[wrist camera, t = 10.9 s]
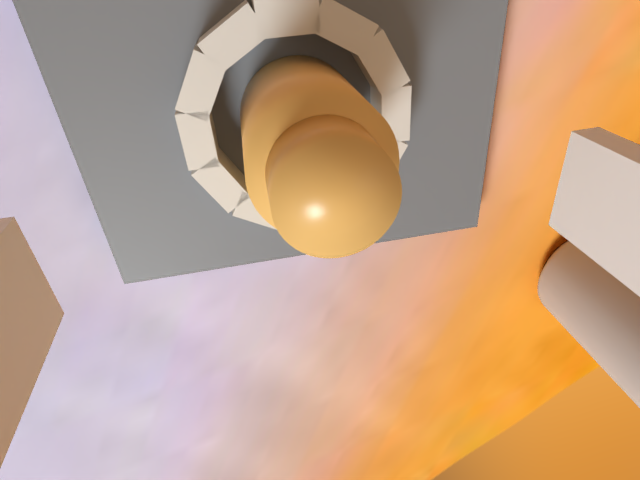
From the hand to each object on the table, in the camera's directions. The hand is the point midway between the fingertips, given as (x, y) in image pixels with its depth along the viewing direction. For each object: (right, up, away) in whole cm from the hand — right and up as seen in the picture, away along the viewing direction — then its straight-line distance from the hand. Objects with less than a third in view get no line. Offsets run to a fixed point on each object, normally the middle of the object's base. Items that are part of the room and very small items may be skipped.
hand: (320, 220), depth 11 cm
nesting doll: (-1, +5, +8) cm, 9 cm away
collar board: (-1, +5, +9) cm, 10 cm away
